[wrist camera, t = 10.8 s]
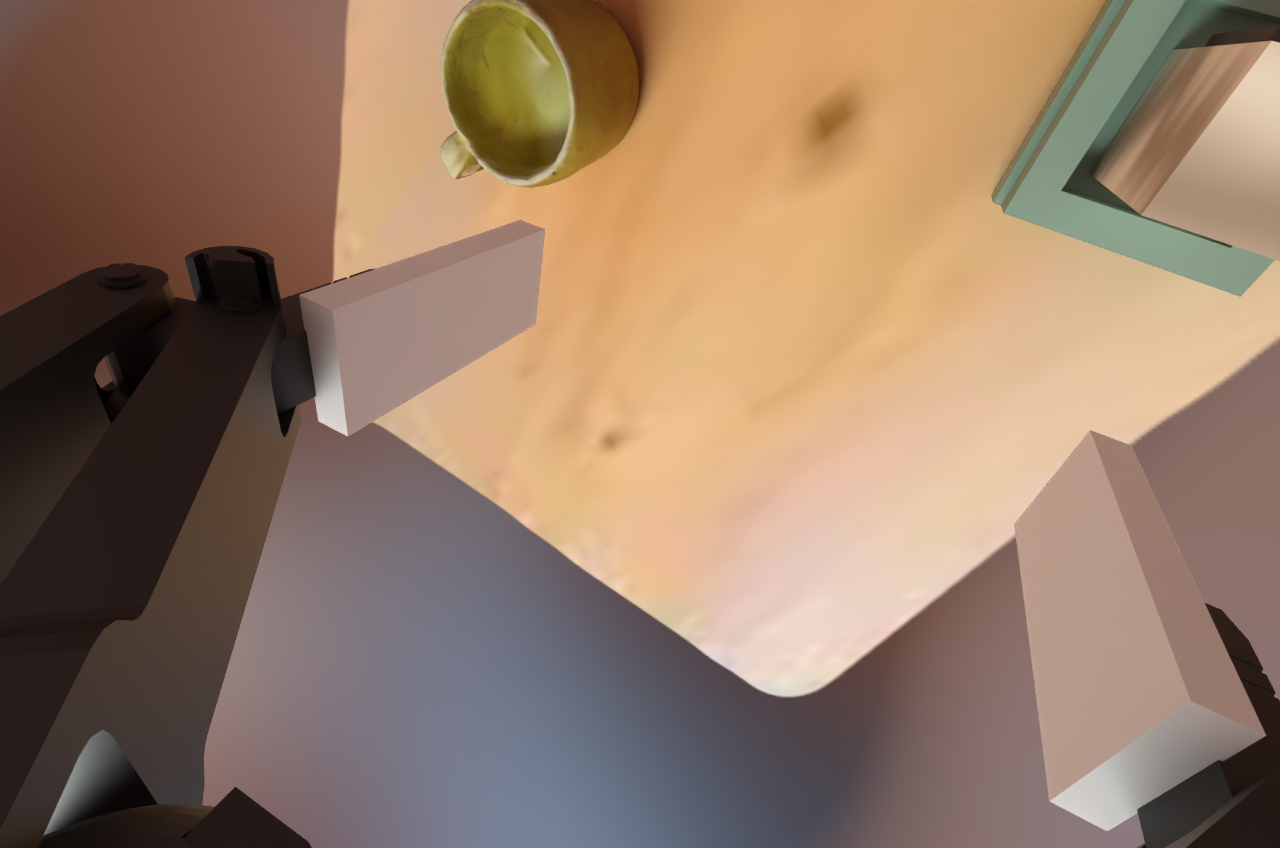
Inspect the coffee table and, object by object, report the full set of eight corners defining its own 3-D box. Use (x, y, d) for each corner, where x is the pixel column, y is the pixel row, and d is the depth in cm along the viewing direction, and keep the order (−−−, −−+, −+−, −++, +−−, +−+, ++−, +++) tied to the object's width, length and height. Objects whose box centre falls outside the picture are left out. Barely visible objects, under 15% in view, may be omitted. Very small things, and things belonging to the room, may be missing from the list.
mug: (603, -89, 31) (491, -24, 26) (687, 105, 36) (610, 190, 31) (470, 15, 39) (364, 80, 34) (556, 161, 44) (477, 236, 39)
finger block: (1183, 33, 24) (1290, 15, 16) (1321, 70, 23) (1507, 70, 15) (1089, 173, 27) (1140, 215, 20) (1206, 211, 26) (1310, 271, 18)
